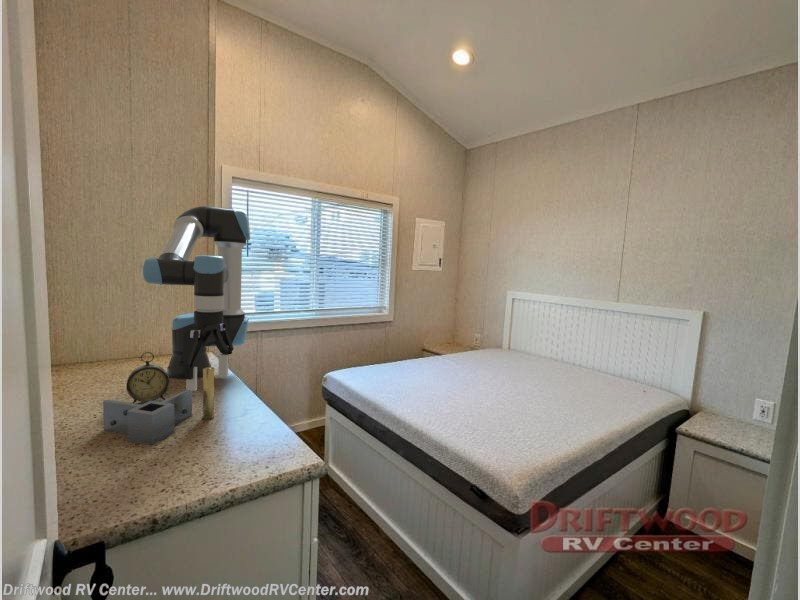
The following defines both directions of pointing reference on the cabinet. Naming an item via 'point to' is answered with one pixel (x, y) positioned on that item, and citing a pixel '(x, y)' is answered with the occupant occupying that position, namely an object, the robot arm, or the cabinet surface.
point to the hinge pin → (208, 393)
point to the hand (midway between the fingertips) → (208, 382)
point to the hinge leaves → (147, 417)
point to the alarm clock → (147, 382)
